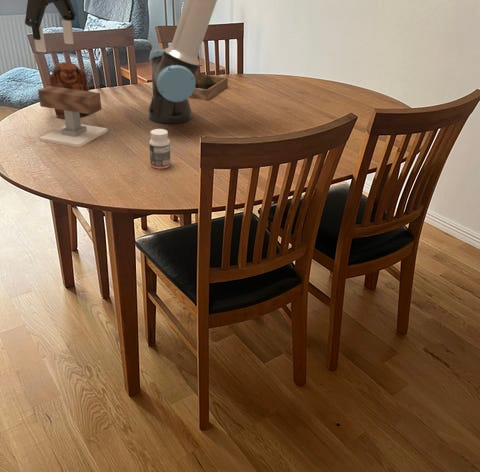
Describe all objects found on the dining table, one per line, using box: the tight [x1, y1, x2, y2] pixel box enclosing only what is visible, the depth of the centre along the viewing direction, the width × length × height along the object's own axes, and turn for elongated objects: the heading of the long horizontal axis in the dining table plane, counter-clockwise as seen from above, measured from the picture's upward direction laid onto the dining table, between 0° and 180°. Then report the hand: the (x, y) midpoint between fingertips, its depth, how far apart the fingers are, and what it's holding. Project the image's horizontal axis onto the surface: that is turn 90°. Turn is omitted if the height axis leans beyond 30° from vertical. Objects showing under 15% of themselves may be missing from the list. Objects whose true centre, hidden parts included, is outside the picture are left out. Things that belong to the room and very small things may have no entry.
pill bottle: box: [148, 128, 172, 170], centre depth 141 cm, size 6×6×10 cm
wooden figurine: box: [49, 61, 89, 120], centre depth 173 cm, size 12×6×18 cm, turn 134°
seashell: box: [195, 72, 215, 89], centre depth 211 cm, size 16×9×7 cm, turn 138°
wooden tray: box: [188, 74, 229, 102], centre depth 210 cm, size 15×22×4 cm
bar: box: [37, 85, 102, 115], centre depth 155 cm, size 18×6×5 cm, turn 71°
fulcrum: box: [39, 110, 109, 149], centre depth 159 cm, size 14×16×9 cm
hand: (55, 47), depth 148 cm, fingers open, 13 cm apart
